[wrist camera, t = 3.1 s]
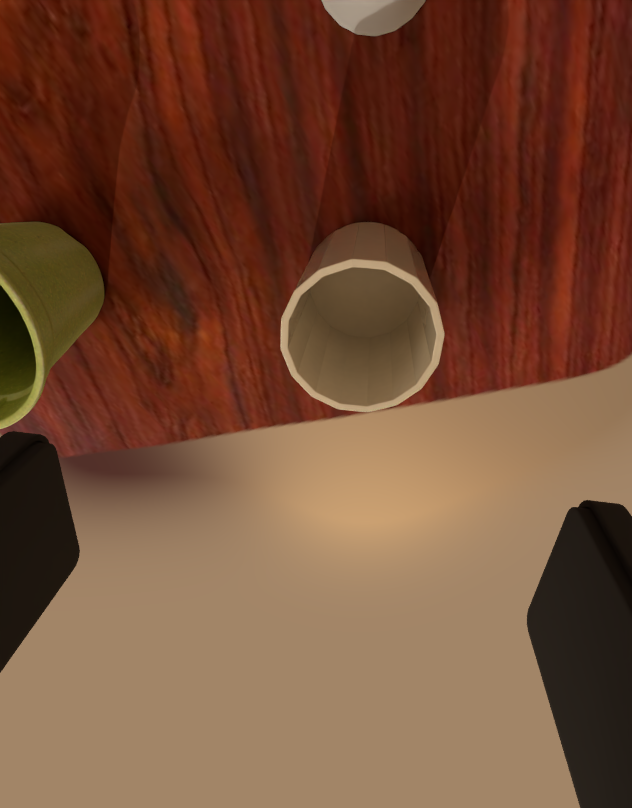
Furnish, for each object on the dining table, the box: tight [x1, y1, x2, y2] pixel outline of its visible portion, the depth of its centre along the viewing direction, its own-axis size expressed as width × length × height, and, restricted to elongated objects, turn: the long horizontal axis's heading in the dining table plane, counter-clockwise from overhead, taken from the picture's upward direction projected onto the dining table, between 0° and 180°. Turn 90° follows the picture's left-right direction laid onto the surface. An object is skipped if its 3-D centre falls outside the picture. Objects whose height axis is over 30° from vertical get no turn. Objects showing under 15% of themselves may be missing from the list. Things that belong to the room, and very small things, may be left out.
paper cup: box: [280, 222, 445, 412], centre depth 22 cm, size 6×6×8 cm
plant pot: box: [0, 222, 104, 429], centre depth 24 cm, size 9×9×9 cm
